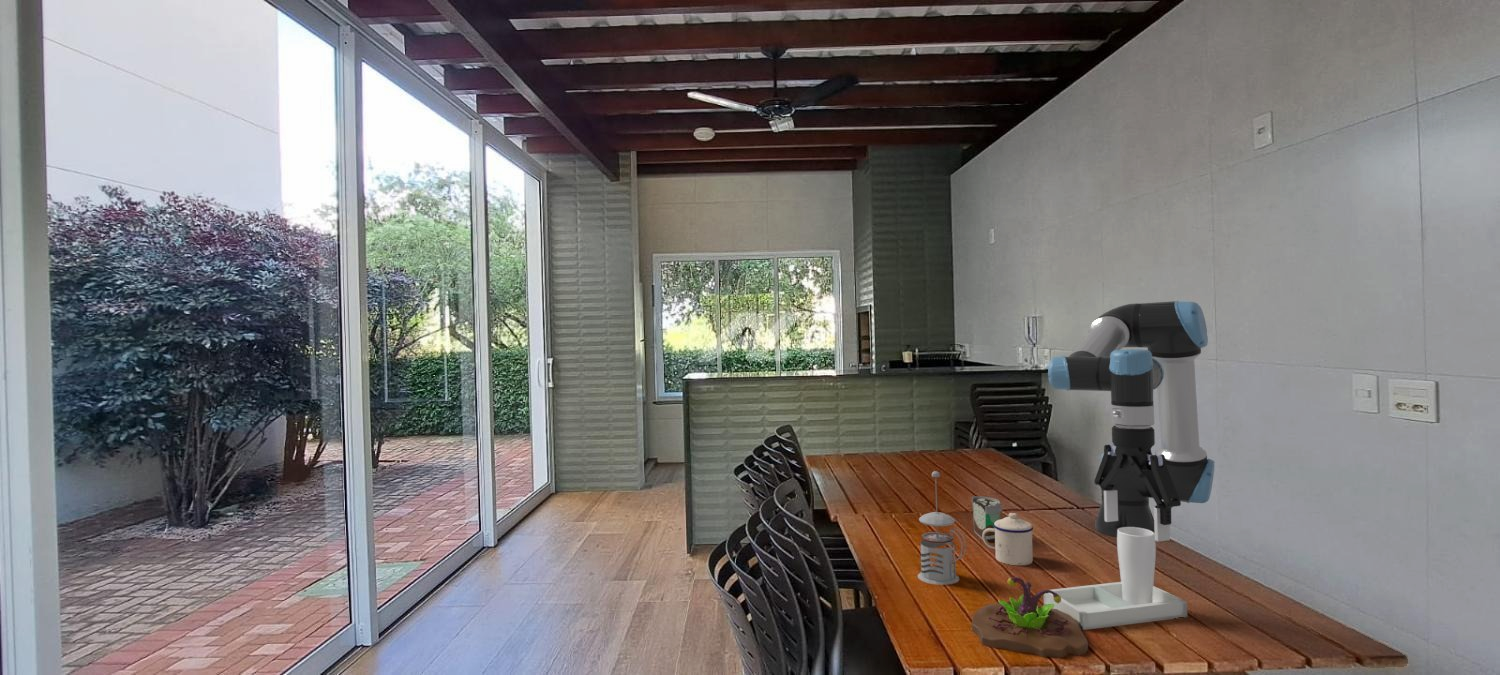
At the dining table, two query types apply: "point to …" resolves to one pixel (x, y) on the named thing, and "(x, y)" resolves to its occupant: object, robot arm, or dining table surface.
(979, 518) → the food container
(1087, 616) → the divided tray
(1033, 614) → the plant
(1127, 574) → the drinking glass
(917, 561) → the dining table surface
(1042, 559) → the dining table surface
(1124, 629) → the dining table surface
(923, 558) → the french press
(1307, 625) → the dining table surface
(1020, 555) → the teacup with lid
